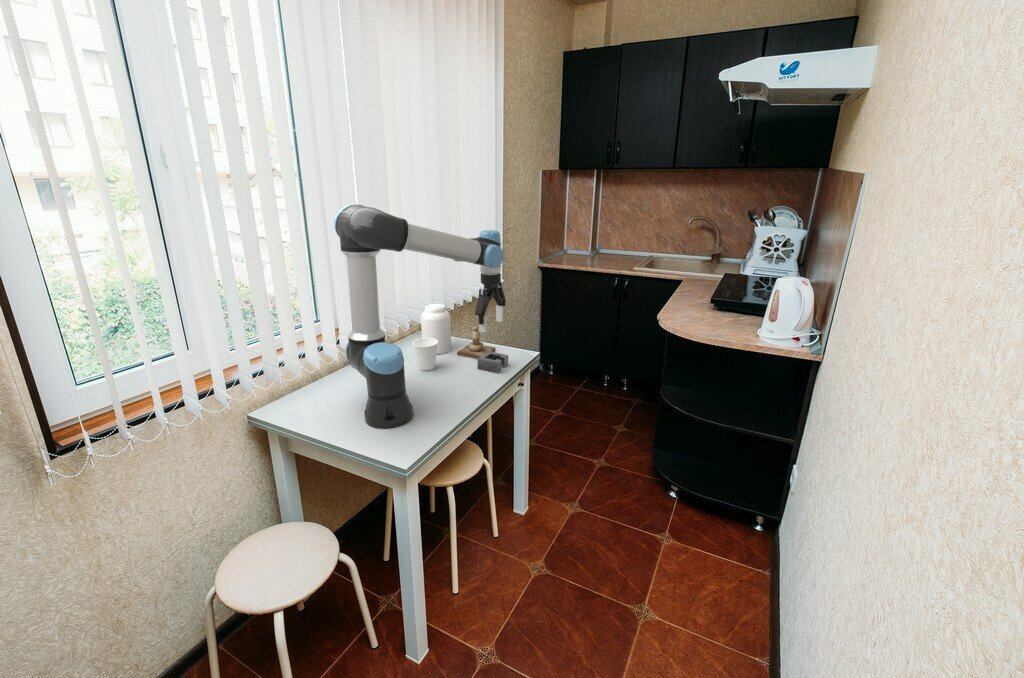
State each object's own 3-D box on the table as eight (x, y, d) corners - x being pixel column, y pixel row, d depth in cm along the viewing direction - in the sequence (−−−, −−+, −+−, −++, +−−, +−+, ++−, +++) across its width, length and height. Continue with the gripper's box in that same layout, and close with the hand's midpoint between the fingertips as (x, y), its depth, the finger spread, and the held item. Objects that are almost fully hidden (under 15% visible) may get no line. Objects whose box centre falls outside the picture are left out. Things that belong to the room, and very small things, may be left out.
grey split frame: (508, 365, 192) (508, 355, 190) (497, 373, 184) (497, 362, 183) (489, 361, 196) (488, 351, 194) (477, 369, 188) (477, 358, 186)
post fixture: (481, 360, 197) (480, 332, 192) (456, 354, 202) (456, 328, 198) (495, 350, 207) (495, 324, 202) (471, 345, 212) (471, 320, 208)
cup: (437, 373, 184) (435, 346, 180) (411, 372, 184) (409, 346, 181) (441, 363, 193) (440, 337, 190) (417, 362, 194) (415, 337, 190)
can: (456, 346, 211) (454, 303, 204) (444, 356, 200) (441, 311, 193) (430, 343, 215) (428, 300, 208) (417, 353, 204) (414, 308, 197)
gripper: (482, 280, 165) (483, 338, 172) (514, 267, 186) (514, 319, 193) (464, 278, 168) (466, 334, 175) (497, 265, 189) (498, 316, 196)
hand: (491, 326), depth 184 cm, fingers open, 13 cm apart
